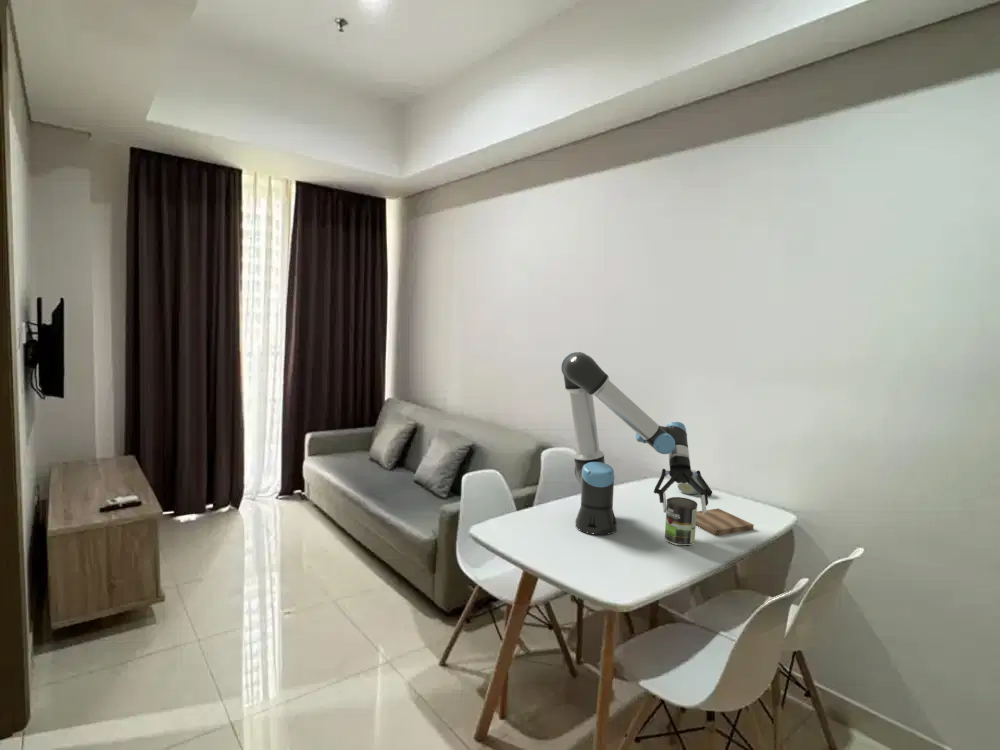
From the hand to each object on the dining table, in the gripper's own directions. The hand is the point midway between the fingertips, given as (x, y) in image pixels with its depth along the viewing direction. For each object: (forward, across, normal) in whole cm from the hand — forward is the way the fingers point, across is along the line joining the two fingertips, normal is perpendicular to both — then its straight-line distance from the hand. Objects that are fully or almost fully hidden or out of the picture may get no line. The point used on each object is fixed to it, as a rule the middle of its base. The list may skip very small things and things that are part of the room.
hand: (684, 512), depth 195 cm
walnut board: (-4, -15, -18) cm, 24 cm away
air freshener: (-30, -13, -45) cm, 55 cm away
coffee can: (+9, +2, -4) cm, 10 cm away
